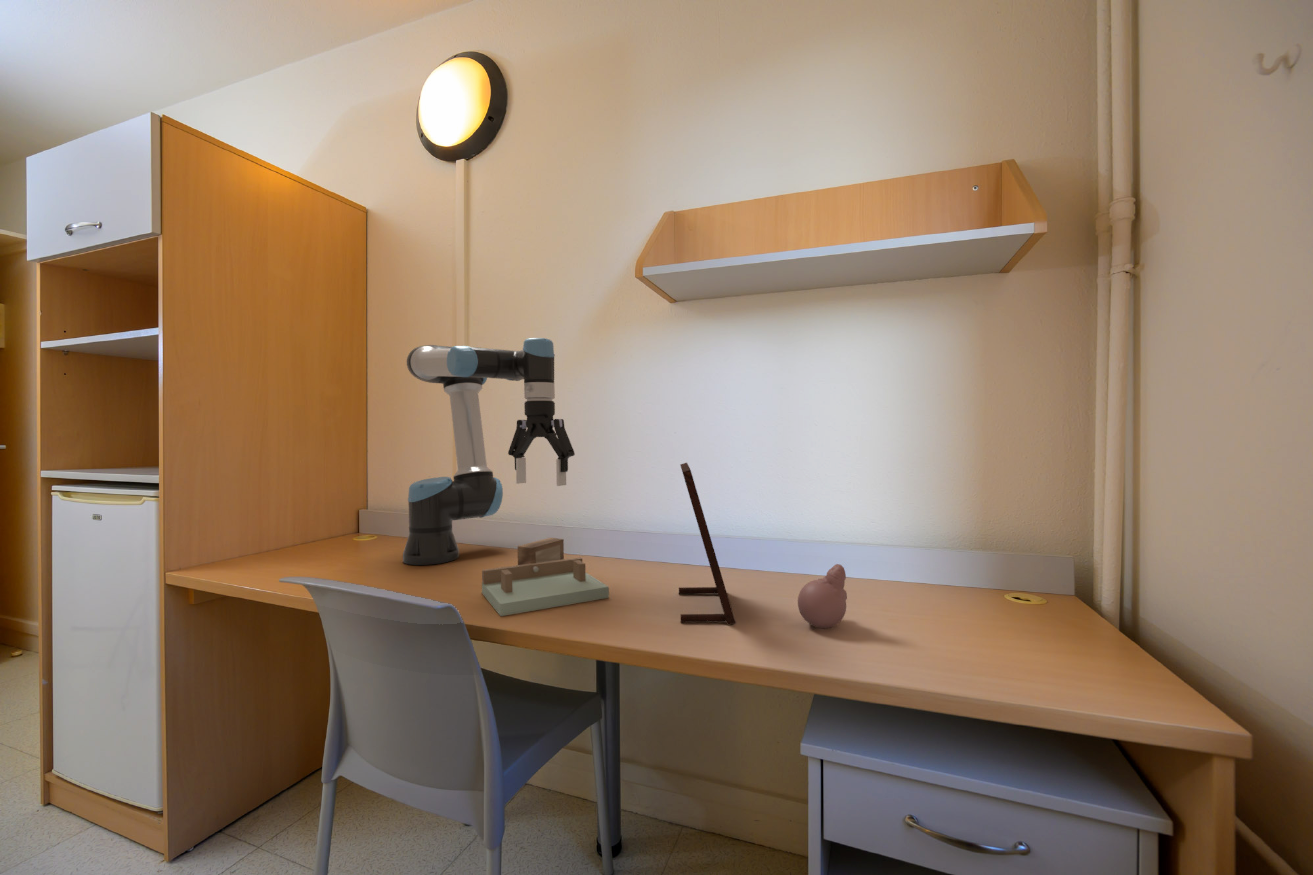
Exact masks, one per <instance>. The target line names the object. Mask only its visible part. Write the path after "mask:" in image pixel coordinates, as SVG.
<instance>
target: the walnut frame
mask: <svg viewBox="0 0 1313 875" xmlns="http://www.w3.org/2000/svg"><path fill="white" fill-rule="evenodd" d="M564 544H565V542H564V538H555V537H547V538H543V539H539V540H536V541H532V542H528V543H524V544H520V545H517V565H524V564H532V563H539V562H547V561H555V560H563V559H565V558H564V557H565V555H564V550H565V549H564V548H565V545H564Z"/></svg>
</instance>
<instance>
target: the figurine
mask: <svg viewBox="0 0 1313 875" xmlns="http://www.w3.org/2000/svg"><path fill="white" fill-rule="evenodd" d="M842 565H843V564H838V563H836V564H834V565H833V566H832V567H831V568H830V569H828V571H827V572H826V575H825V576H823V578H818V579H813V580H811V581H809V582H807V583H806V584H805V585H803V587H801V589H800V591H799V594H798V596H797V607H798V610H799V613H800V615H801V617H802V619H803V620H804V621H806V622H807V623H809V625H811V626H813V627H815V628H817V629H818V628H819V629H829V628H833V627H835V626H836V625H838V624H839V623H840V622H841V621H842V620H843V619H844V616H845V615H846V612H847V598H848V595H847V594H848V593H847V590H845V589H844V588H845V581H846V579H847V575H846V571H845V567H844V566H842Z"/></svg>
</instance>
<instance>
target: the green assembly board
mask: <svg viewBox="0 0 1313 875" xmlns="http://www.w3.org/2000/svg"><path fill="white" fill-rule="evenodd" d="M481 577H482V578H481V580H482V581H481V594H482V595H483V596H484V598H485V599H486V600H487V601H488V602H489V604H490V605H491V607H492V608H493V609H494V610H495V611H496V612H497V614H498V615H499V616H500V617H505V616H509V615H510V616H511V615H516V614H521V613H527V612H532V611H533V612H534V611H539V610H546V609H550V608H556V607H563V606H569V605H574V604H580V603H586V602H591V601H598V600H603V599H609V597H610V590H609V589H610V587H609V585H607V584H605V583H603V582H601V581H600V580H598V579H597V578H595V577H594V576H592V575H591V574H589V573H587V572H586V563H585V562H583V558H582V557H580V556H579V557H571V558H564V559H563V560H555V561H547V562H539V563H532V564H524V565H518V564H517V565H511V566H502V567H494V568H486V569H482V570H481Z"/></svg>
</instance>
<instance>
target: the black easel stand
mask: <svg viewBox="0 0 1313 875" xmlns="http://www.w3.org/2000/svg"><path fill="white" fill-rule="evenodd" d="M679 465H680V468H681V472H682V476H683V478H684V482H685V486H686V489H687V491H688V496H689V500H690V502H691V506H692V510H693V512H694V513H693V514H694V516H695V520H696V522H697V526H698V530H699V534H700V536H701V540H702V544H703V546H704V549H705V553H706V557H707V559H708V564H709V568H710V571H711V573H712V577H713V581H714V584H715V586H714V587H713V586H711V587H710V586H707V587H706V586H705V587H704V586H702V587H700V586H699V587H696V586H695V587H690V586H689V587H688V586H687V587H678V595H701V594H702V595H703V594H704V595H705V594H707V595H709V594H710V595H716V594H717V595H718V599H719V601H720V605H721V608H722V611H723V613H695V614H694V613H686V614H685V613H681V614H680V623H703V622H705V623H707V622H708V623H714V622H715V623H716V622H717V623H718V622H721V623H722V622H723V623H724V622H726V625H727V626H730V625H732V624H736V620H735V617H734V614H733V610H732V607H731V603H730V600H729V599H730V598H729V596H728V592H727V590H726V586H725V582H724V579H723V576H722V572H721V568H720V566H719V563H718V562H719V561H718V559H717V556H716V550H715V549H714V545H713V542H712V538H711V536H710V532H709V531H710V530H709V528H708V525H707V521H706V518H705V515H704V510H703V508H702V504H701V501H700V496H699V495H698V490H697V488H696V487H697V486H696V484H695V480H694V476H693V474H692V473H693V472H692V470H691V468H690V465H689V464H688V462H684V463H681V464H679Z"/></svg>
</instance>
